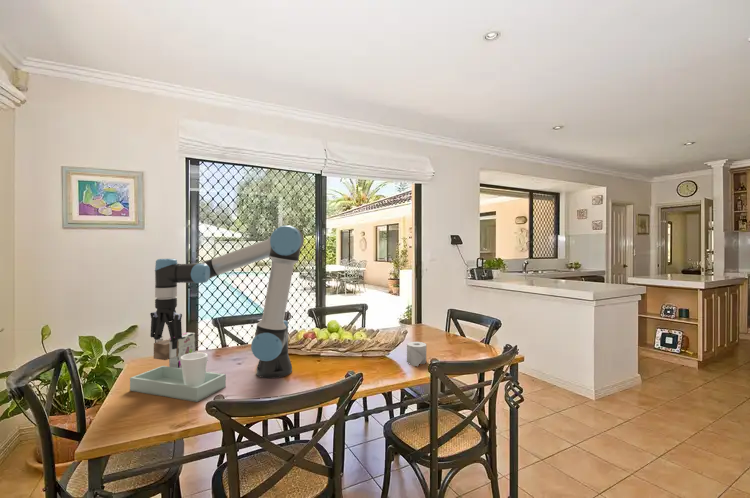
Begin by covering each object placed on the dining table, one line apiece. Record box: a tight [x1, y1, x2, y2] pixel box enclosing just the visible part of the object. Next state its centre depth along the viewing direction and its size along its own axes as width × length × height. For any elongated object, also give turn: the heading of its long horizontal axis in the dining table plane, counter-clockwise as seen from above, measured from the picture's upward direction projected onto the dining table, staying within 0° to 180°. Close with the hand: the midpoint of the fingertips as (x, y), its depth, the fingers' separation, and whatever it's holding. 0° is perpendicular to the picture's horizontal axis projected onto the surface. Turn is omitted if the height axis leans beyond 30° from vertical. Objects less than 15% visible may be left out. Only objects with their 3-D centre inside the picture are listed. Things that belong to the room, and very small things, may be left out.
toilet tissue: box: [406, 341, 427, 368], centre depth 179 cm, size 9×13×9 cm
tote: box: [129, 365, 227, 403], centre depth 147 cm, size 32×15×5 cm, turn 72°
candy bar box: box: [168, 332, 197, 368], centre depth 165 cm, size 11×5×16 cm, turn 168°
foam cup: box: [180, 351, 209, 387], centre depth 144 cm, size 10×9×13 cm
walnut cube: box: [153, 339, 178, 361], centre depth 148 cm, size 6×6×6 cm
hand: (166, 356), depth 148 cm, fingers closed on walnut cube, 6 cm apart
